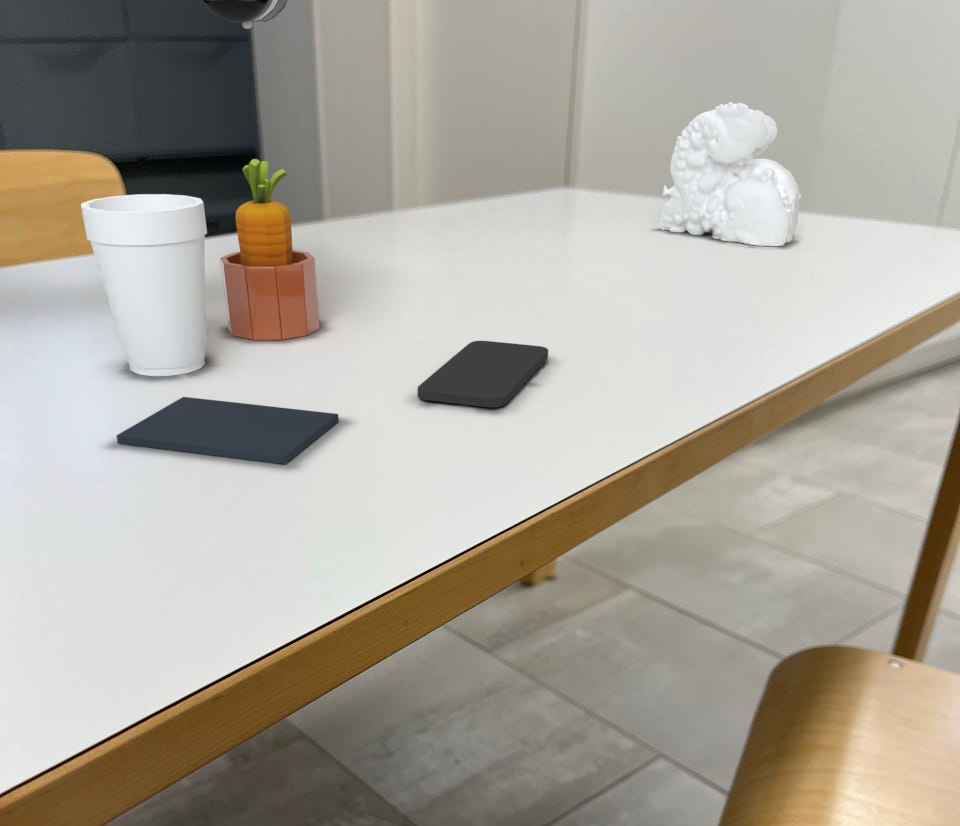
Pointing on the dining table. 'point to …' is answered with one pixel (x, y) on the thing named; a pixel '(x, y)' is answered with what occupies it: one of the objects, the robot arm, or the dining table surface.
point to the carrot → (263, 221)
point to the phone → (484, 374)
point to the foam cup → (153, 277)
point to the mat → (230, 429)
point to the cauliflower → (730, 180)
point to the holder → (271, 298)
